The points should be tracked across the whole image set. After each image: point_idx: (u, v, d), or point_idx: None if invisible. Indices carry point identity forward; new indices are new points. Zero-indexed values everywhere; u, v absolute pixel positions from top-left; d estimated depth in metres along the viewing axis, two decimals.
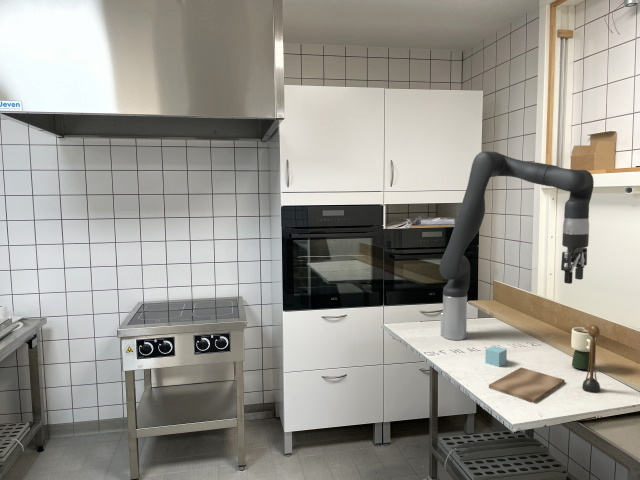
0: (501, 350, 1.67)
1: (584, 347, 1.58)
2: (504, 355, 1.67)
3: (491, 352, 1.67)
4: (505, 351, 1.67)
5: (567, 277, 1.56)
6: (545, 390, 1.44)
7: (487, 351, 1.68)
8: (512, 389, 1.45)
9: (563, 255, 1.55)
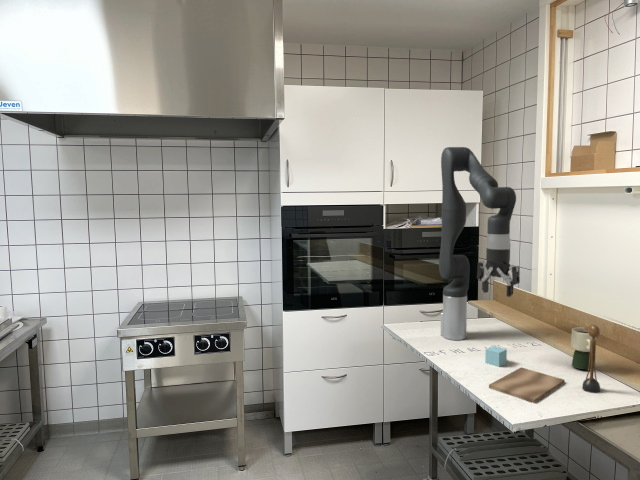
0: (501, 350, 1.67)
1: (584, 347, 1.58)
2: (504, 355, 1.67)
3: (491, 352, 1.67)
4: (505, 351, 1.67)
5: (512, 290, 1.62)
6: (545, 390, 1.44)
7: (487, 351, 1.68)
8: (512, 389, 1.45)
9: (516, 270, 1.59)
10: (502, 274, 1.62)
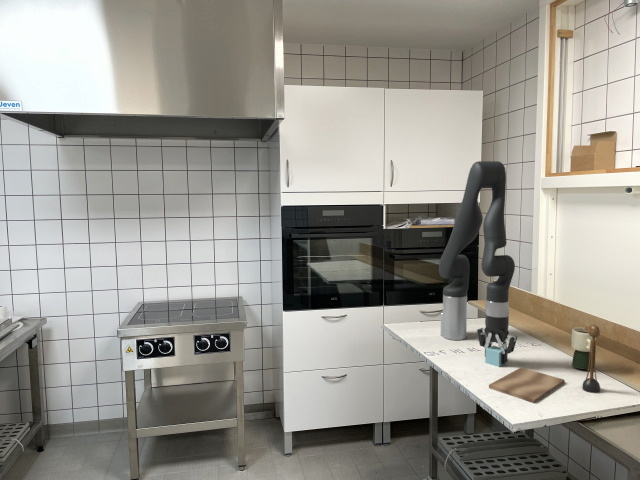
0: None
1: (584, 347, 1.58)
2: None
3: (491, 352, 1.67)
4: None
5: (506, 358, 1.66)
6: (545, 390, 1.44)
7: (487, 351, 1.68)
8: (512, 389, 1.45)
9: (513, 341, 1.62)
10: (499, 341, 1.65)
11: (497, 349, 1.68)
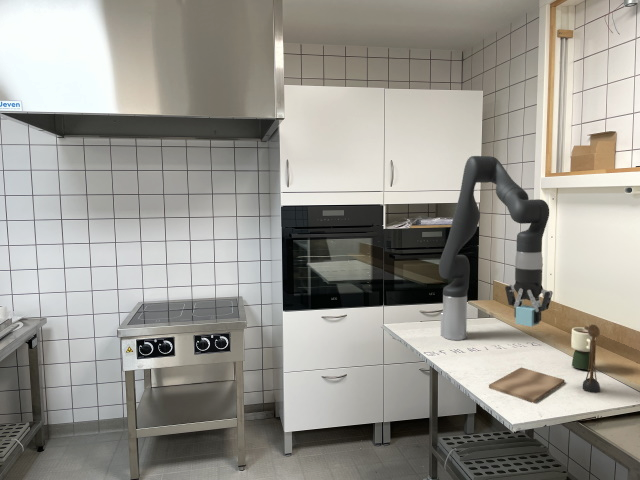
0: (533, 308, 1.47)
1: (584, 347, 1.58)
2: None
3: (523, 310, 1.47)
4: None
5: (540, 317, 1.46)
6: (545, 390, 1.44)
7: (517, 309, 1.48)
8: (512, 389, 1.45)
9: (549, 296, 1.42)
10: (532, 298, 1.45)
11: (529, 307, 1.48)
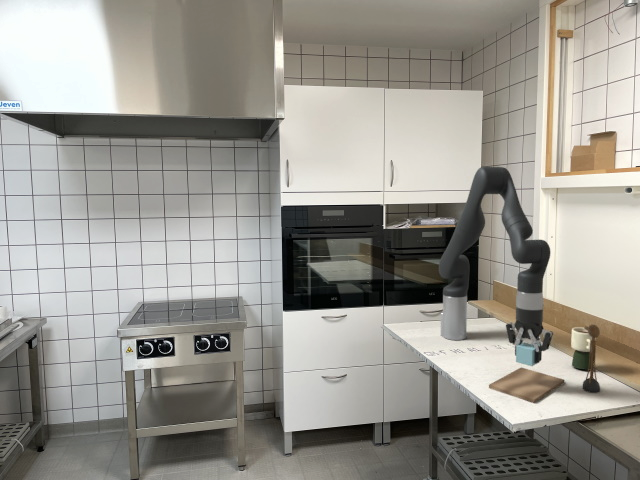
0: None
1: (584, 347, 1.58)
2: None
3: (523, 350, 1.47)
4: None
5: (540, 356, 1.46)
6: (545, 390, 1.44)
7: (518, 348, 1.48)
8: (512, 389, 1.45)
9: (549, 337, 1.43)
10: (532, 337, 1.45)
11: (529, 346, 1.48)
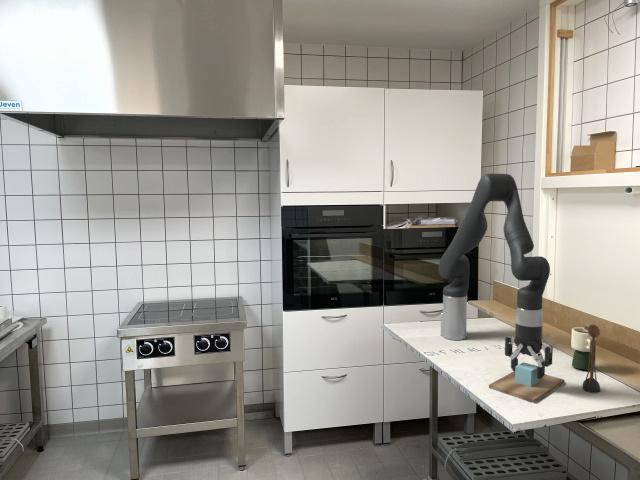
0: (533, 367, 1.48)
1: (584, 347, 1.58)
2: (536, 373, 1.48)
3: (522, 370, 1.48)
4: (537, 369, 1.49)
5: (543, 372, 1.46)
6: (545, 390, 1.44)
7: (517, 368, 1.49)
8: (512, 389, 1.45)
9: (549, 351, 1.43)
10: (533, 353, 1.46)
11: (528, 367, 1.49)
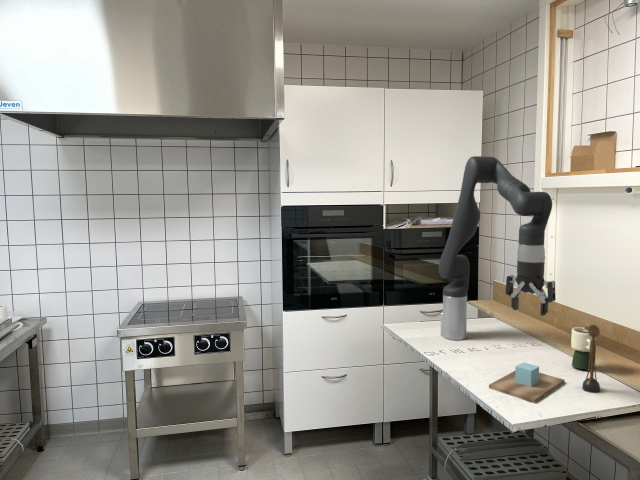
0: (533, 367, 1.48)
1: (584, 347, 1.58)
2: (536, 373, 1.48)
3: (522, 370, 1.48)
4: (537, 369, 1.49)
5: (547, 308, 1.43)
6: (545, 390, 1.44)
7: (517, 368, 1.49)
8: (512, 389, 1.45)
9: (552, 285, 1.41)
10: (536, 290, 1.43)
11: (528, 367, 1.49)
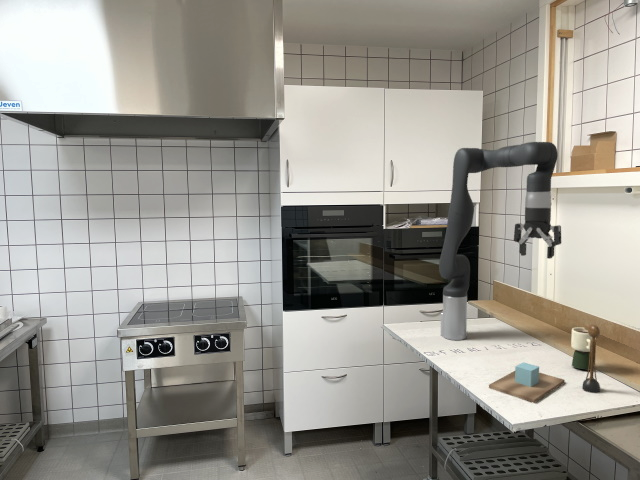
0: (533, 367, 1.48)
1: (584, 347, 1.58)
2: (536, 373, 1.48)
3: (522, 370, 1.48)
4: (537, 369, 1.49)
5: (553, 251, 1.52)
6: (545, 390, 1.44)
7: (517, 368, 1.49)
8: (512, 389, 1.45)
9: (558, 229, 1.49)
10: (542, 234, 1.52)
11: (528, 367, 1.49)
